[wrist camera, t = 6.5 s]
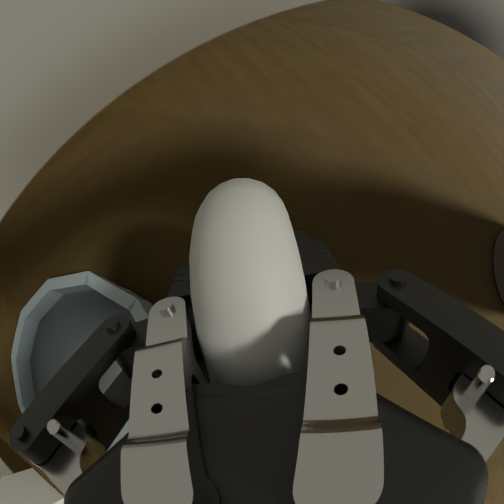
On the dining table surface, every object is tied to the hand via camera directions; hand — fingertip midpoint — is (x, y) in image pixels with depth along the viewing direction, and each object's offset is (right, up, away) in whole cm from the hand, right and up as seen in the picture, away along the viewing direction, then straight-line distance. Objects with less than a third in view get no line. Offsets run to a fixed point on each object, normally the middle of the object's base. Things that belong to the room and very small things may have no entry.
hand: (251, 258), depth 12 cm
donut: (+1, -3, +4) cm, 5 cm away
